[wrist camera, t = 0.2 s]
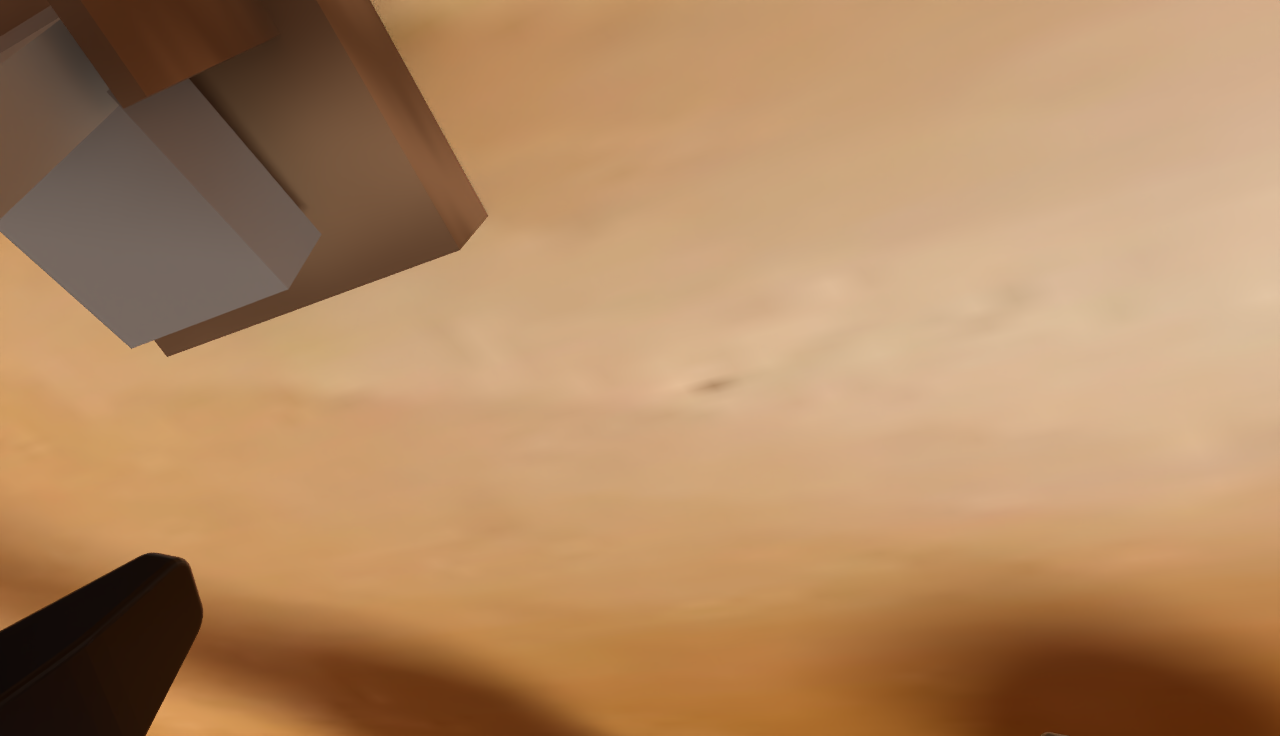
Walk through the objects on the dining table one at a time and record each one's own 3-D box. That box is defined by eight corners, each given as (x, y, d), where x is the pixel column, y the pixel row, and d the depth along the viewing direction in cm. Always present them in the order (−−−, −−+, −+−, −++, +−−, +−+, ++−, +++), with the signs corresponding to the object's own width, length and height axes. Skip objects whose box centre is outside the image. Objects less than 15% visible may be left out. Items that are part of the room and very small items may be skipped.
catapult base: (488, 215, 23) (377, 349, 18) (209, 321, 27) (49, 456, 22) (196, -315, 18) (-79, -347, 13) (-98, -92, 22) (-404, -47, 17)
